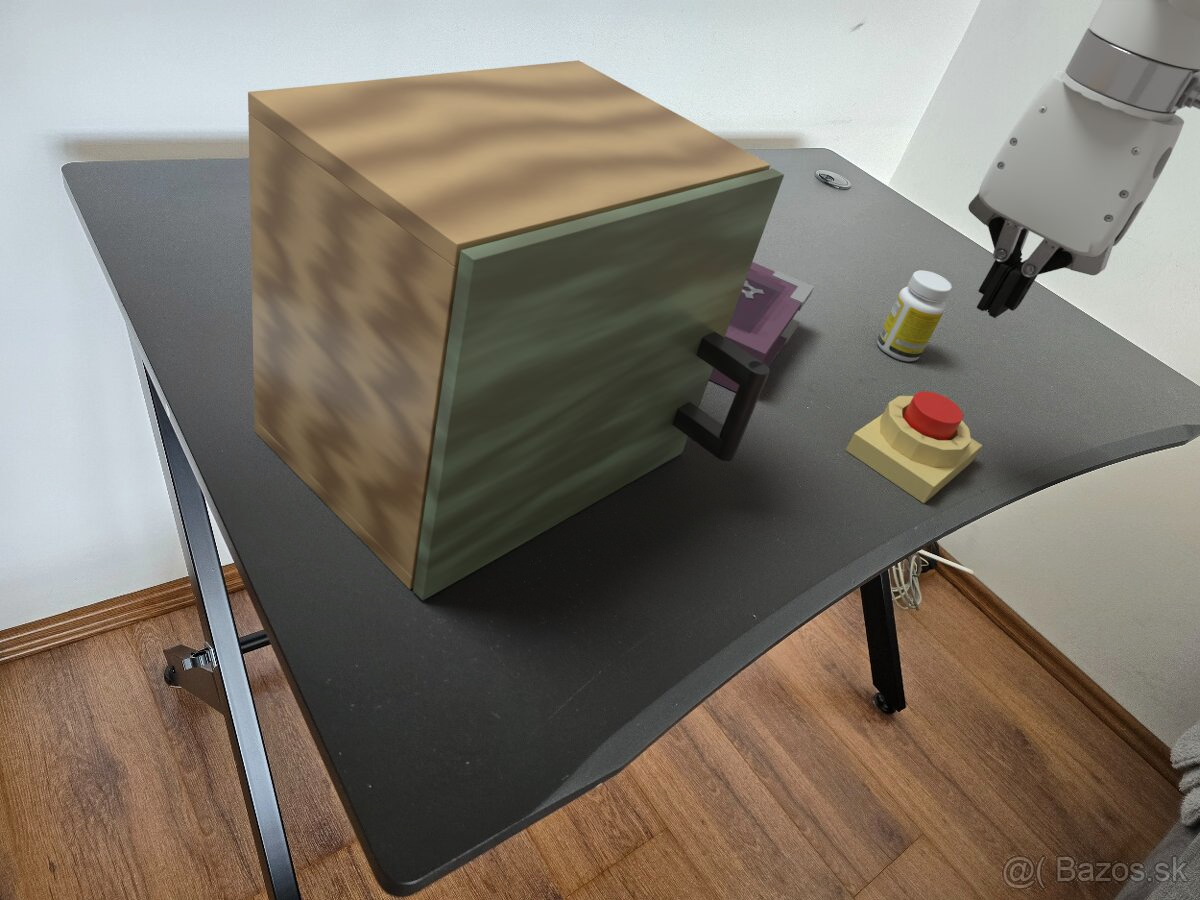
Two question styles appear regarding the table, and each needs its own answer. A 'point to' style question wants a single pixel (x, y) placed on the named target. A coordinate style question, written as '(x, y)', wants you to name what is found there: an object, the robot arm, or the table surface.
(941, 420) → the button
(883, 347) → the supplement bottle
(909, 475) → the button block
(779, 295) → the book
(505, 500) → the door
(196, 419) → the table surface
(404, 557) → the cupboard
